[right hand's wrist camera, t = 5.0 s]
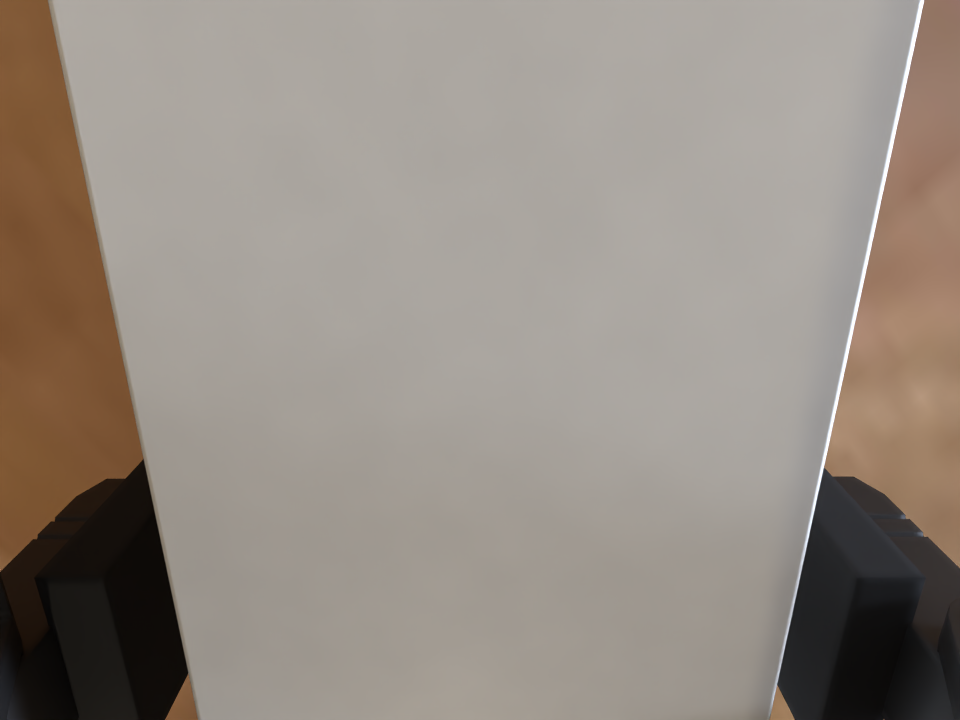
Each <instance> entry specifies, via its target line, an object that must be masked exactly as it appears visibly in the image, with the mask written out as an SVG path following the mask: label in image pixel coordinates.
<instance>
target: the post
mask: <svg viewBox="0 0 960 720" xmlns="http://www.w3.org/2000/svg"><path fill="white" fill-rule="evenodd" d="M923 3H924V0H48V4H49V8H50V13H51V18H52V23H53V27H54V32H55V37H56V42H57V47H58V51H59V56H60V61H61V66H62V71H63V75H64V80H65V85H66V90H67V94H68V99H69V104H70V109H71V114H72V118H73V123H74V128H75V133H76V137H77V142H78V147H79V152H80V157H81V161H82V166H83V171H84V176H85V181H86V185H87V190H88V195H89V200H90V204H91V209H92V214H93V219H94V224H95V228H96V233H97V238H98V243H99V247H100V252H101V257H102V262H103V267H104V271H105V276H106V281H107V286H108V290H109V295H110V300H111V305H112V310H113V314H114V319H115V324H116V329H117V334H118V338H119V343H120V348H121V353H122V357H123V362H124V367H125V372H126V377H127V381H128V386H129V391H130V396H131V400H132V405H133V410H134V415H135V420H136V424H137V429H138V434H139V439H140V444H141V448H142V453H143V458H144V463H145V467H146V472H147V477H148V482H149V487H150V491H151V496H152V501H153V506H154V510H155V515H156V520H157V525H158V530H159V534H160V539H161V544H162V549H163V553H164V558H165V563H166V568H167V573H168V577H169V582H170V587H171V592H172V597H173V601H174V606H175V611H176V616H177V620H178V625H179V630H180V635H181V640H182V644H183V649H184V654H185V659H186V663H187V668H188V673H189V678H190V683H191V687H192V692H193V697H194V702H195V707H196V711H197V716H198V720H770V715H771V710H772V706H773V701H774V696H775V692H776V687H777V682H778V678H779V673H780V668H781V664H782V659H783V654H784V650H785V645H786V640H787V636H788V631H789V626H790V622H791V617H792V612H793V608H794V603H795V598H796V594H797V589H798V585H799V580H800V575H801V571H802V566H803V561H804V557H805V552H806V547H807V543H808V538H809V533H810V529H811V524H812V519H813V515H814V510H815V505H816V501H817V496H818V491H819V487H820V482H821V477H822V473H823V468H824V464H825V459H826V454H827V450H828V445H829V440H830V436H831V431H832V426H833V422H834V417H835V412H836V408H837V403H838V398H839V394H840V389H841V384H842V380H843V375H844V370H845V366H846V361H847V356H848V352H849V347H850V342H851V338H852V333H853V329H854V324H855V319H856V315H857V310H858V305H859V301H860V296H861V291H862V287H863V282H864V277H865V273H866V268H867V263H868V259H869V254H870V249H871V245H872V240H873V235H874V231H875V226H876V221H877V217H878V212H879V207H880V203H881V198H882V194H883V189H884V184H885V180H886V175H887V170H888V166H889V161H890V156H891V152H892V147H893V142H894V138H895V133H896V128H897V124H898V119H899V114H900V110H901V105H902V100H903V96H904V91H905V86H906V82H907V77H908V73H909V68H910V63H911V59H912V54H913V49H914V45H915V40H916V35H917V31H918V26H919V21H920V17H921V12H922V7H923Z"/></svg>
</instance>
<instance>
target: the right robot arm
mask: <svg viewBox="0 0 960 720" xmlns="http://www.w3.org/2000/svg"><path fill="white" fill-rule="evenodd" d="M187 675H188V668H187V663H186V659H185V654H184V649H183V644H182V640H181V635H180V630H179V625H178V620H177V616H176V611H175V606H174V601H173V597H172V592H171V587H170V582H169V577H168V573H167V568H166V563H165V558H164V553H163V549H162V544H161V539H160V534H159V530H158V525H157V520H156V515H155V510H154V506H153V501H152V496H151V491H150V487H149V482H148V477H147V472H146V467H145V463H144V459H143V460H142V462H141V463H140V464H139V465H138V466H137V467H136V468H135V469H134V470H133V471H132V472H131V473H130V475H129V476H128V477H127V478H126V479H106V480H104V481H102V482H101V483H99V484H97V485H95V486H94V487H92V488H90V489H89V490H87V491H85V492H83V493H82V494H80V495H78V496H76V497H75V498H74V499H73V500H72V501H71V502H70V503H69V504H68V505H67V506H66V507H65V508H64V509H63V510H62V511H61V512H60V513H59V514H58V515H57V516H56V517H55V522H50V523H49V524H48V525H47V526H46V527H45V528H44V529H43V530H42V531H41V532H40V533H39V534H38V538H37V539H33V540H32V541H31V542H30V543H29V544H28V545H27V546H26V547H25V548H24V549H23V550H22V551H21V552H20V553H19V554H18V555H17V556H16V557H15V558H14V559H13V560H12V561H11V562H10V563H9V564H8V565H7V566H6V567H5V568H4V569H3V570H2V571H1V572H0V720H165V719H166V717H167V715H168V713H169V711H170V709H171V707H172V705H173V703H174V701H175V699H176V697H177V695H178V693H179V691H180V689H181V687H182V685H183V683H184V681H185V679H186V677H187ZM777 685H778V687H779V689H780V691H781V693H782V695H783V697H784V699H785V701H786V703H787V705H788V707H789V709H790V711H791V713H792V715H793V717H794V719H795V720H883V719H885V720H960V568H959V567H958V566H957V565H956V564H955V563H954V562H953V561H952V560H951V559H950V558H948V557H947V556H946V555H945V554H944V553H943V552H942V551H941V550H940V549H939V548H938V547H937V546H936V545H935V544H934V543H933V542H932V541H931V540H930V539H929V538H928V537H924V536H923V532H922V531H921V530H920V529H919V528H918V527H917V526H916V525H915V524H914V523H913V522H912V521H911V520H910V519H906V518H905V514H904V513H903V512H902V511H901V510H900V509H899V508H898V507H897V506H896V505H895V504H894V503H893V502H892V501H891V500H890V499H889V498H888V497H887V496H886V495H885V494H883V493H881V492H879V491H878V490H876V489H874V488H872V487H871V486H869V485H867V484H866V483H864V482H862V481H860V480H859V479H857V478H855V477H832V476H831V475H830V473H829V472H828V471H827V470H826V469H825V468H823V473H822V477H821V482H820V487H819V491H818V496H817V501H816V505H815V510H814V515H813V519H812V524H811V529H810V533H809V538H808V543H807V547H806V552H805V557H804V561H803V566H802V571H801V575H800V580H799V585H798V589H797V594H796V598H795V603H794V608H793V612H792V617H791V622H790V626H789V631H788V636H787V640H786V645H785V650H784V654H783V659H782V664H781V668H780V673H779V678H778V682H777Z"/></svg>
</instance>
